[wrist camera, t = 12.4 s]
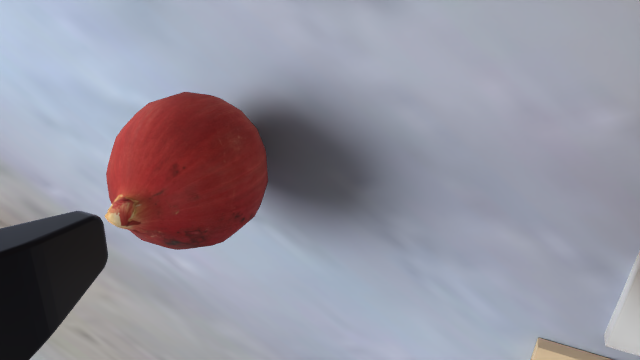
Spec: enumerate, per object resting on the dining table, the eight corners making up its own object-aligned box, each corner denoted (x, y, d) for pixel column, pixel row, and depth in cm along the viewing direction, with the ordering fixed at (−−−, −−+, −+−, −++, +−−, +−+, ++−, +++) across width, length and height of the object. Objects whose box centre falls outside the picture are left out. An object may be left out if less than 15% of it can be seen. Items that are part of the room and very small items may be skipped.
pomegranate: (318, 184, 23) (222, 295, 16) (214, 204, 26) (96, 306, 19) (269, 55, 21) (139, 119, 15) (163, 91, 24) (13, 159, 17)
